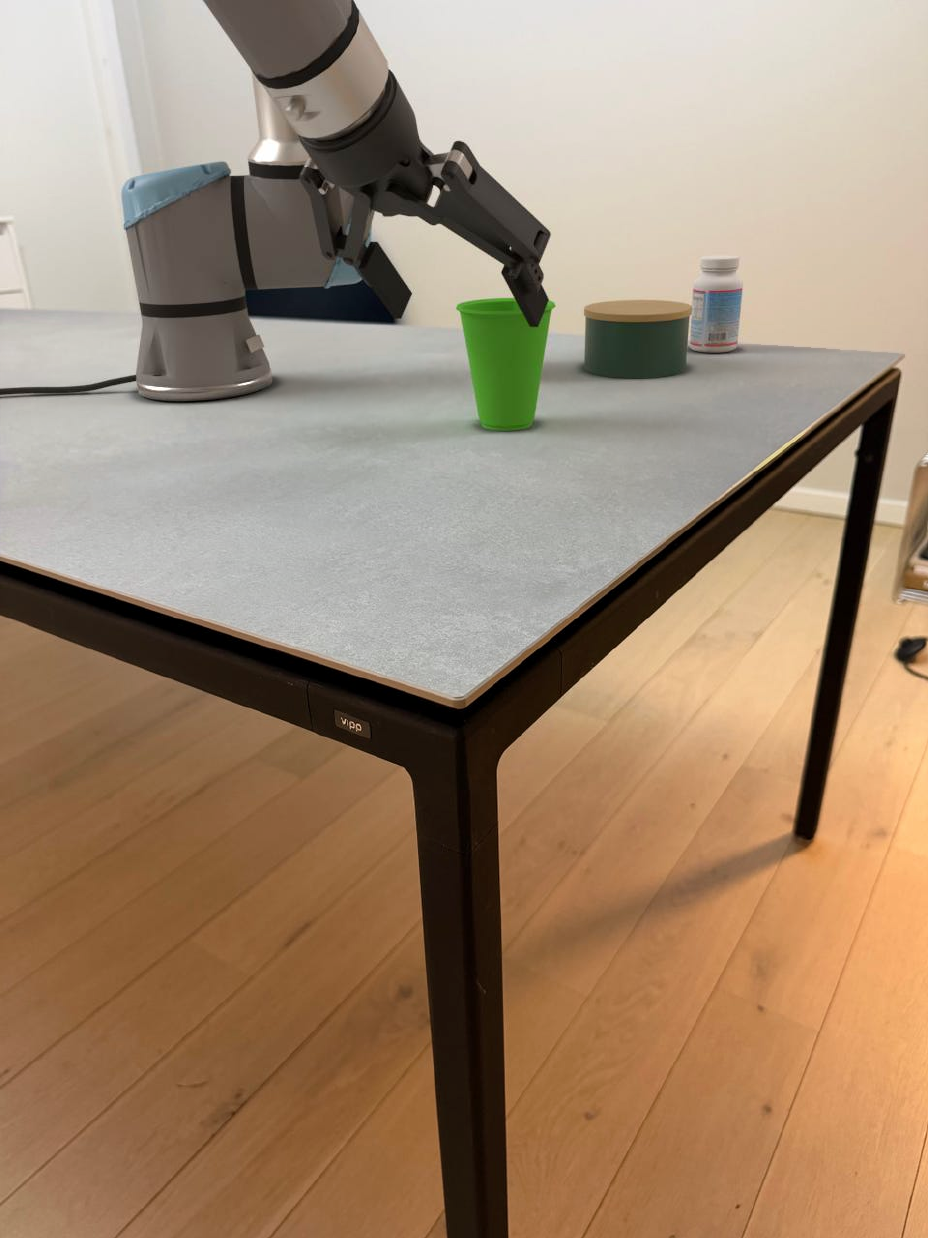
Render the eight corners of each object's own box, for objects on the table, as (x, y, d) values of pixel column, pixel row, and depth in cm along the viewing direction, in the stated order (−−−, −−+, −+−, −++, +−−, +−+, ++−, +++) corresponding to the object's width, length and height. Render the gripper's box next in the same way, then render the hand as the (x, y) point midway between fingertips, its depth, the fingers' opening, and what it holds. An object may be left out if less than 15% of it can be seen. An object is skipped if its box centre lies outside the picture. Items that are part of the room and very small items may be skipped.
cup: (449, 434, 85) (444, 311, 80) (471, 411, 93) (468, 297, 88) (545, 438, 83) (546, 311, 78) (560, 413, 91) (562, 297, 86)
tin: (605, 382, 103) (608, 317, 100) (567, 362, 114) (568, 303, 111) (706, 373, 106) (711, 310, 103) (659, 354, 117) (663, 297, 114)
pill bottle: (743, 347, 120) (752, 254, 115) (727, 355, 115) (736, 259, 110) (699, 343, 123) (706, 253, 118) (681, 351, 119) (688, 258, 114)
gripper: (184, 153, 65) (337, 337, 83) (485, 137, 53) (588, 356, 71) (227, 71, 67) (368, 269, 85) (528, 38, 55) (618, 276, 73)
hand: (468, 309), depth 78 cm, fingers open, 13 cm apart
